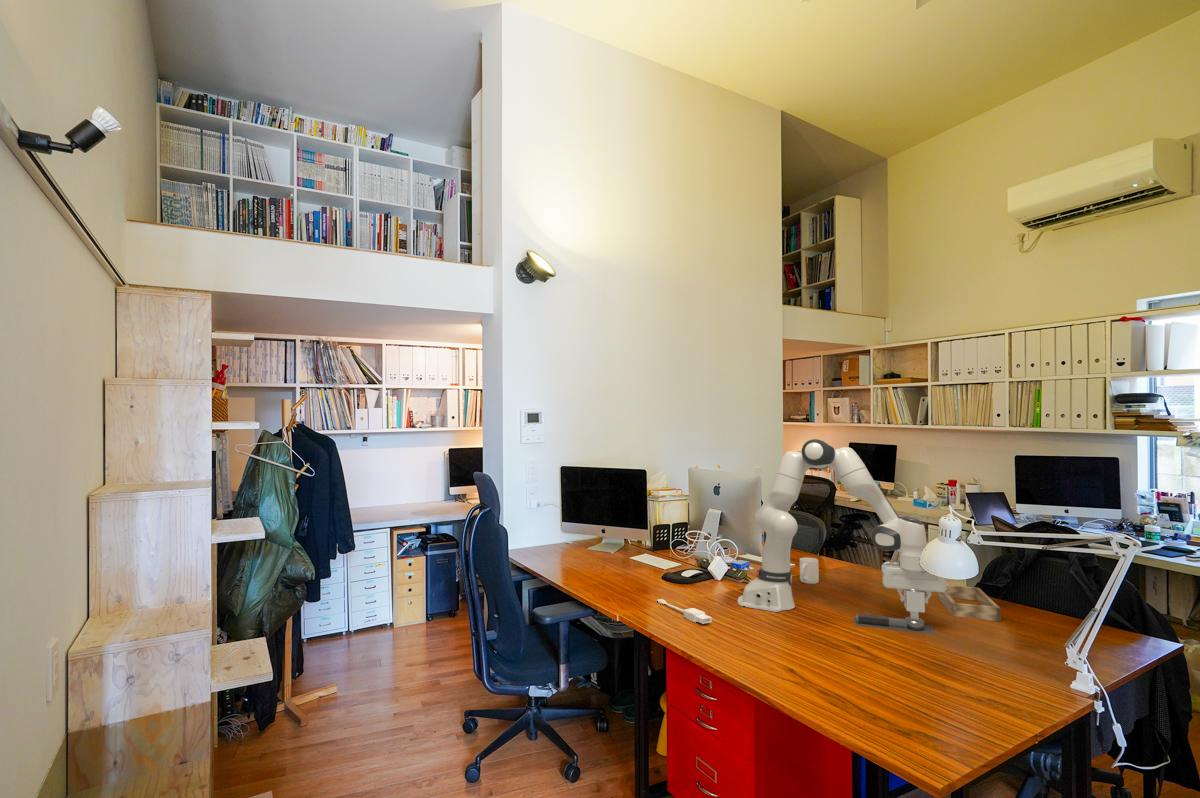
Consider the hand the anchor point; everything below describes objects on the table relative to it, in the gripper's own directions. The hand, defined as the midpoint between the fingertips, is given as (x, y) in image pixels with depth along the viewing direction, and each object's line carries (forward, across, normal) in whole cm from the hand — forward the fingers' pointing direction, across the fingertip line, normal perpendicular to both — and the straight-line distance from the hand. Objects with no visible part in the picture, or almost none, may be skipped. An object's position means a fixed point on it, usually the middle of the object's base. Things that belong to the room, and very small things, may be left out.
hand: (914, 602), depth 204 cm
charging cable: (+10, -83, -11) cm, 84 cm away
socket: (+2, 0, 0) cm, 2 cm away
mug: (+10, -36, +52) cm, 64 cm away
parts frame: (+10, +24, +34) cm, 42 cm away
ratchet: (+9, -8, 0) cm, 12 cm away
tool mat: (+10, -7, 0) cm, 12 cm away
